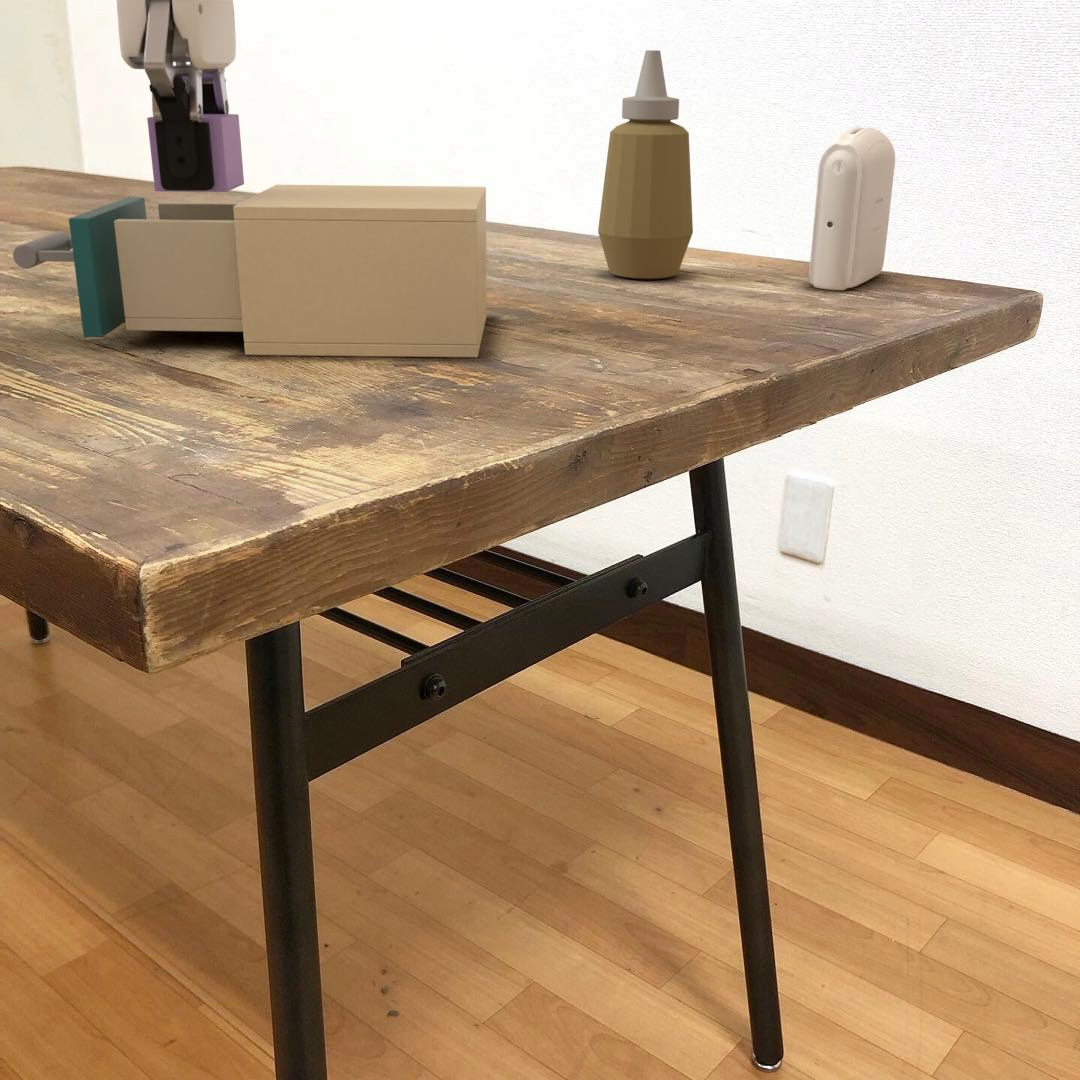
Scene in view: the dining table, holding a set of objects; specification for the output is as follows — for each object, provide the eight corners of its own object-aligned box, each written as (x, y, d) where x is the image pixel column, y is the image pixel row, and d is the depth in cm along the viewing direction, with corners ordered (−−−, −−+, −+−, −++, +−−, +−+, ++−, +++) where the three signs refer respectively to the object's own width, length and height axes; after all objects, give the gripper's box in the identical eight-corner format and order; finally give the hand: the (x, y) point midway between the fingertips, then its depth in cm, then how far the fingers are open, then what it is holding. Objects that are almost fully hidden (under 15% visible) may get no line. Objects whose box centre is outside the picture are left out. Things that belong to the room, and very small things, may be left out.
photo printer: (852, 293, 99) (869, 131, 95) (801, 287, 101) (815, 129, 97) (888, 275, 108) (905, 125, 103) (840, 270, 110) (855, 123, 105)
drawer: (7, 336, 78) (-11, 217, 75) (72, 301, 88) (58, 196, 85) (298, 339, 77) (290, 220, 75) (327, 304, 88) (322, 199, 85)
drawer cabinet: (244, 355, 77) (232, 205, 74) (284, 315, 89) (275, 184, 86) (477, 357, 77) (476, 208, 74) (486, 317, 89) (485, 186, 86)
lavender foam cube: (154, 191, 78) (146, 117, 76) (175, 184, 82) (168, 113, 80) (227, 191, 77) (221, 117, 76) (244, 184, 82) (238, 114, 80)
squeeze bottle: (621, 285, 101) (629, 50, 95) (581, 270, 108) (586, 49, 102) (707, 280, 104) (721, 51, 98) (663, 265, 111) (673, 50, 105)
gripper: (148, -118, 81) (177, 172, 87) (52, -157, 65) (97, 200, 72) (263, -117, 81) (283, 173, 87) (195, -157, 65) (226, 200, 72)
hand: (199, 182), depth 80 cm, fingers closed on lavender foam cube, 4 cm apart
